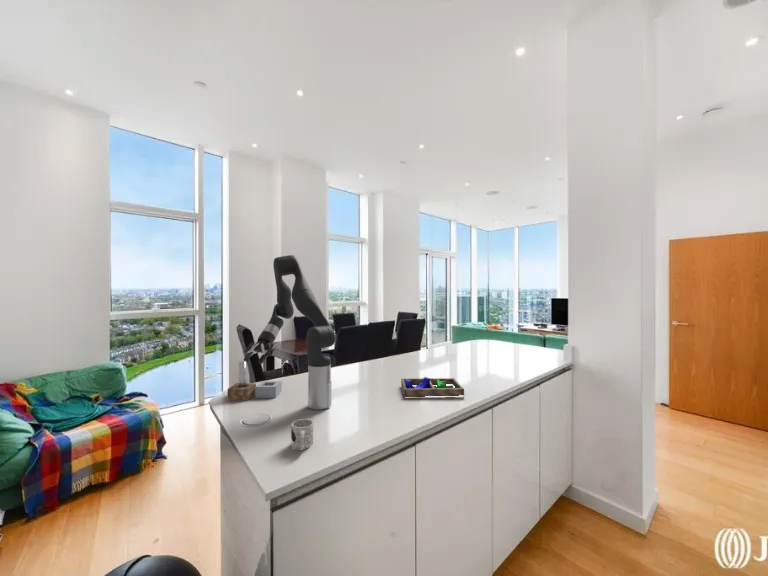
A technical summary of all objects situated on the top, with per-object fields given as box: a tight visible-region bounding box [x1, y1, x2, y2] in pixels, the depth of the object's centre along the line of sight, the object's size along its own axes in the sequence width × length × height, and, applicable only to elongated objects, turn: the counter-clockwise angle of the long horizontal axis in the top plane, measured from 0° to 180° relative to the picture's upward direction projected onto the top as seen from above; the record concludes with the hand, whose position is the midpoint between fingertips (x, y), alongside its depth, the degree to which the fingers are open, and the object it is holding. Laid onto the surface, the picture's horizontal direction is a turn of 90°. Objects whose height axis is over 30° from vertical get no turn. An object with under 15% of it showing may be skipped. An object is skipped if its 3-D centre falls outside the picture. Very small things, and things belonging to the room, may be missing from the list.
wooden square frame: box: [226, 382, 257, 401], centre depth 142 cm, size 9×9×5 cm
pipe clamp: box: [436, 379, 447, 389], centre depth 150 cm, size 11×4×5 cm, turn 173°
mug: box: [290, 418, 314, 451], centre depth 96 cm, size 10×7×7 cm
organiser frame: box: [400, 377, 465, 398], centre depth 150 cm, size 27×18×4 cm, turn 91°
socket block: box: [254, 380, 283, 399], centre depth 145 cm, size 9×9×5 cm
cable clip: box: [405, 376, 431, 389], centre depth 150 cm, size 12×4×6 cm, turn 118°
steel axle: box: [238, 360, 247, 387], centre depth 142 cm, size 3×3×16 cm
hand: (252, 362), depth 148 cm, fingers open, 8 cm apart
